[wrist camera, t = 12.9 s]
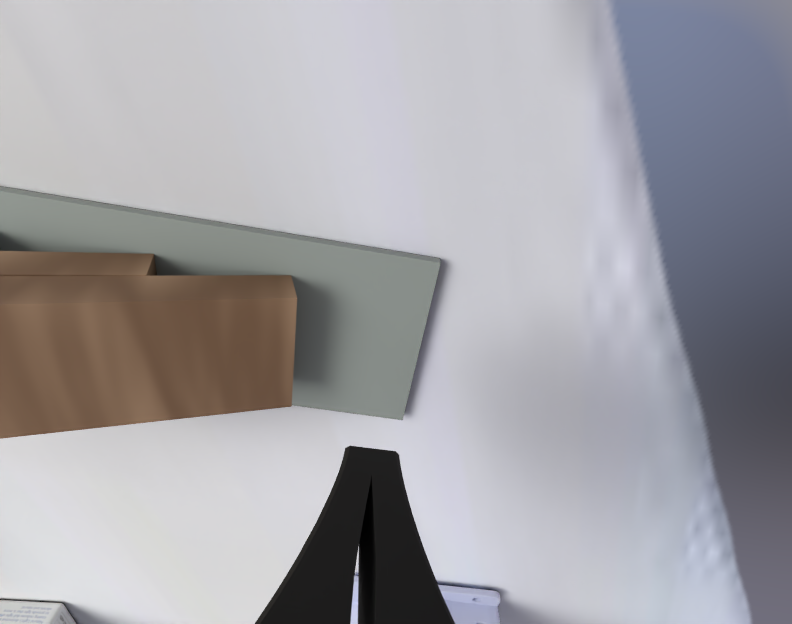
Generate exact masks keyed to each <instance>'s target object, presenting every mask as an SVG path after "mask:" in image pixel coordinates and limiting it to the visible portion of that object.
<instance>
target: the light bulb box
mask: <svg viewBox="0 0 792 624" xmlns="http://www.w3.org/2000/svg"><path fill="white" fill-rule="evenodd" d="M0 624H76V622H75V621H74V619H73V618H72V616H71V615H70V613H69V612H68V610H67V609H66V607H65V606H64V604H62V603H48V602H29V601H10V600H0Z"/></svg>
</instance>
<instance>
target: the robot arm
mask: <svg viewBox="0 0 792 624" xmlns="http://www.w3.org/2000/svg"><path fill="white" fill-rule="evenodd" d="M358 546H359V576H354V574H355V566H356V559H357V552H358ZM500 601H501V598H500V594H499V593H498V592H497V591H493V590H483V589H474V588H465V587H456V586H446V585H438V584H437V581H436V579H435V577H434V574H433V572H432V569H431V566H430V564H429V561H428V559H427V556H426V553H425V551H424V548H423V545H422V542H421V539H420V536H419V533H418V530H417V527H416V524H415V521H414V518H413V515H412V511H411V508H410V504H409V501H408V497H407V493H406V489H405V485H404V481H403V477H402V472H401V466H400V460H399V455H398V453H397V452H396V451H388V450H380V449H372V448H363V447H355V446H349V447H347V448H345V452H344V457H343V461H342V464H341V467H340V470H339V473H338V476H337V478H336V481H335V483H334V486H333V488H332V490H331V493H330V495H329V497H328V499H327V501H326V503H325V506H324V508H323V510H322V512H321V514H320V516H319V518H318V520H317V522H316V524H315V526H314V528H313V530H312V531H311V533H310V535H309V537H308V539H307V541H306V542H305V544H304V546H303V548H302V550H301V552H300V553H299V555H298V557H297V559H296V560H295V562H294V564H293V565H292V567H291V569H290V570H289V572H288V574H287V575H286V577H285V579H284V580H283V582H282V583H281V585H280V586H279V588H278V590H277V591H276V593H275V594H274V596H273V597H272V599H271V600H270V602H269V603H268V605H267V606H266V608H265V609H264V611H263V612H262V614H261V615H260V617H259V618H258V620H257V621H256V623H255V624H500V618H499V612H498V605H499V603H500Z"/></svg>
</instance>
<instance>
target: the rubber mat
mask: <svg viewBox="0 0 792 624" xmlns="http://www.w3.org/2000/svg"><path fill="white" fill-rule="evenodd" d="M0 251H37V252H88V253H139V254H154V257H155V265H156V272H157V276H196V275H291V277H292V280H293V284H294V288H295V292H296V295H297V312H296V331H295V351H294V370H293V390H292V405H294V406H302V407H309V408H316V409H324V410H331V411H339V412H346V413H353V414H361V415H368V416H376V417H383V418H390V419H398V420H403V416H404V412H405V408H406V404H407V400H408V396H409V392H410V388H411V383H412V379H413V375H414V371H415V367H416V363H417V359H418V355H419V350H420V346H421V342H422V338H423V334H424V330H425V326H426V322H427V317H428V313H429V309H430V305H431V301H432V297H433V293H434V289H435V285H436V280H437V276H438V272H439V268H440V264H441V262H440V258H435V257H429V256H423V255H417V254H411V253H405V252H399V251H393V250H386V249H380V248H374V247H368V246H362V245H356V244H350V243H344V242H338V241H331V240H325V239H319V238H313V237H307V236H301V235H295V234H289V233H283V232H276V231H270V230H264V229H258V228H252V227H246V226H240V225H234V224H228V223H221V222H215V221H209V220H203V219H197V218H191V217H185V216H179V215H173V214H166V213H160V212H154V211H148V210H142V209H136V208H130V207H124V206H118V205H112V204H105V203H99V202H93V201H87V200H81V199H75V198H69V197H63V196H57V195H50V194H44V193H38V192H32V191H26V190H20V189H14V188H8V187H2V186H0Z"/></svg>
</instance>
